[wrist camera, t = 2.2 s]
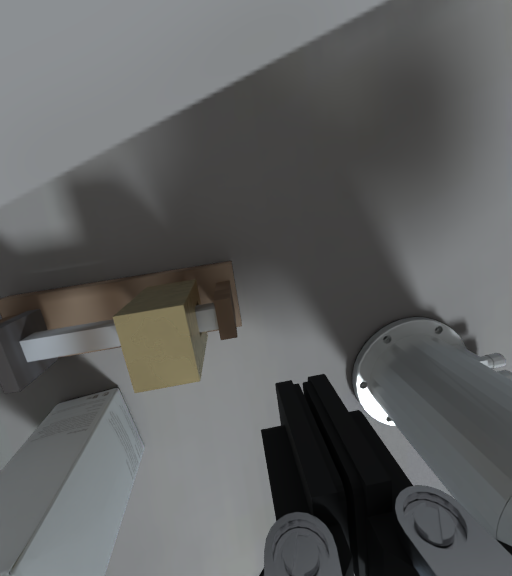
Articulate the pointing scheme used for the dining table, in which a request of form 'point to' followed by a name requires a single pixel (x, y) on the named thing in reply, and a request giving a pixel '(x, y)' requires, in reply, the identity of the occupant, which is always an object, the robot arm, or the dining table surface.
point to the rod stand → (98, 318)
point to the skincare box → (69, 489)
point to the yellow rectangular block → (162, 336)
